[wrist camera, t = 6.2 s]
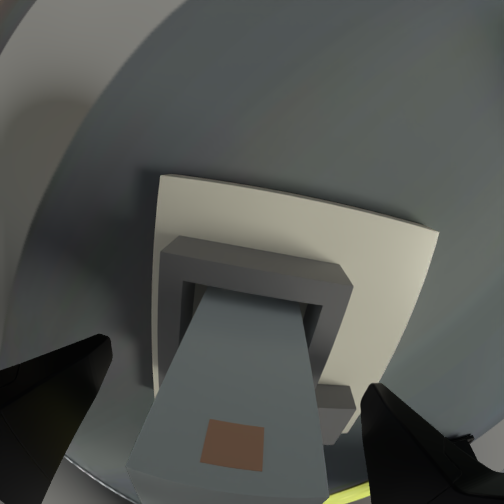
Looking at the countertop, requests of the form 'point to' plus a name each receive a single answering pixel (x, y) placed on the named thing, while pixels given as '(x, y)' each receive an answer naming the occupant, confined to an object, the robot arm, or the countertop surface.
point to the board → (291, 277)
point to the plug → (234, 411)
